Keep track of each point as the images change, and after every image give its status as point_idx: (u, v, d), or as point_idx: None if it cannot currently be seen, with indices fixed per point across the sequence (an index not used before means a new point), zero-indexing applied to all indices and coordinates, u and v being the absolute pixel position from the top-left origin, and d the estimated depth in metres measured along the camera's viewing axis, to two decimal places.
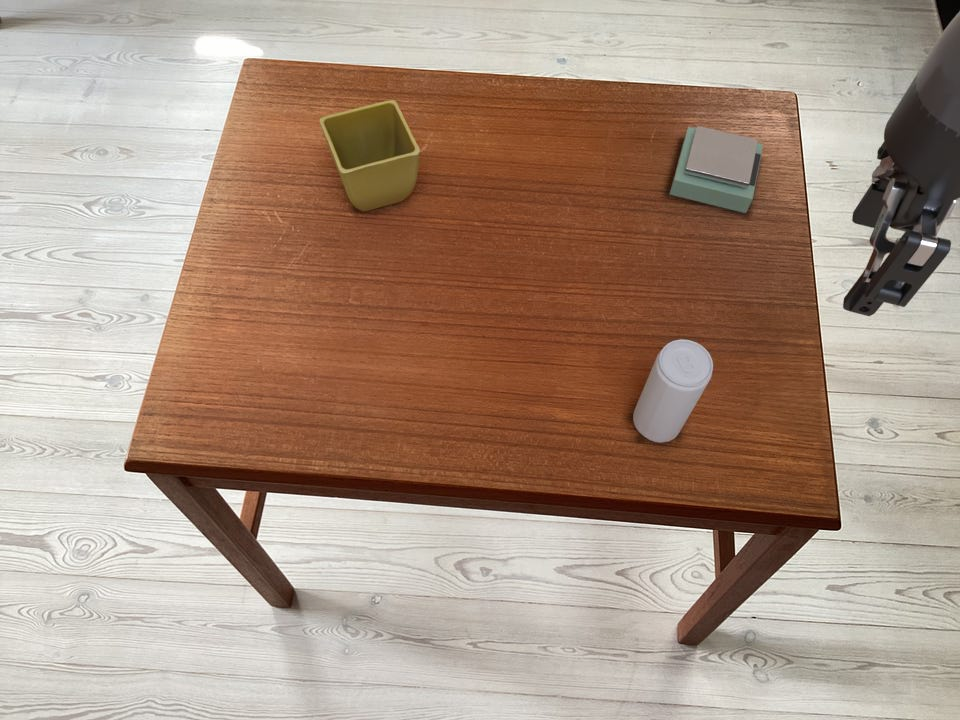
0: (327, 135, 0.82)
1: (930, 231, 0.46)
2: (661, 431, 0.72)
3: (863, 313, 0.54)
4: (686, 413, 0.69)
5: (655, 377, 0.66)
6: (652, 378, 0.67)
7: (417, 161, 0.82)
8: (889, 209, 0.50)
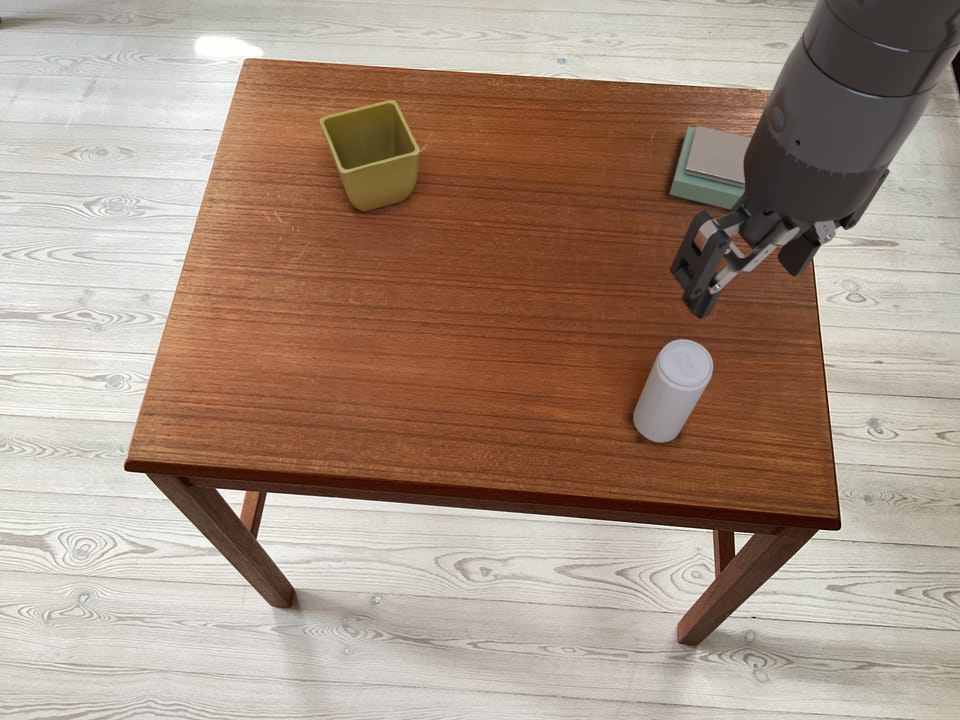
0: (327, 135, 0.82)
1: (724, 223, 0.47)
2: (661, 431, 0.72)
3: (688, 308, 0.55)
4: (686, 413, 0.69)
5: (655, 377, 0.66)
6: (652, 378, 0.67)
7: (417, 161, 0.82)
8: None
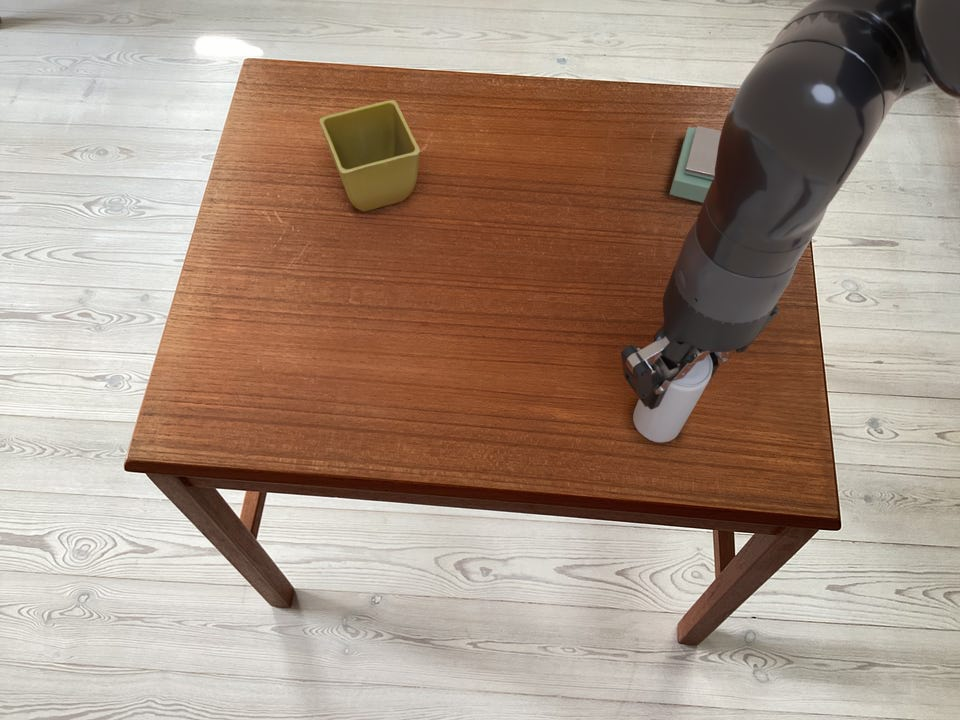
0: (327, 135, 0.82)
1: (644, 355, 0.59)
2: (661, 431, 0.72)
3: None
4: (686, 413, 0.69)
5: None
6: None
7: (417, 161, 0.82)
8: None
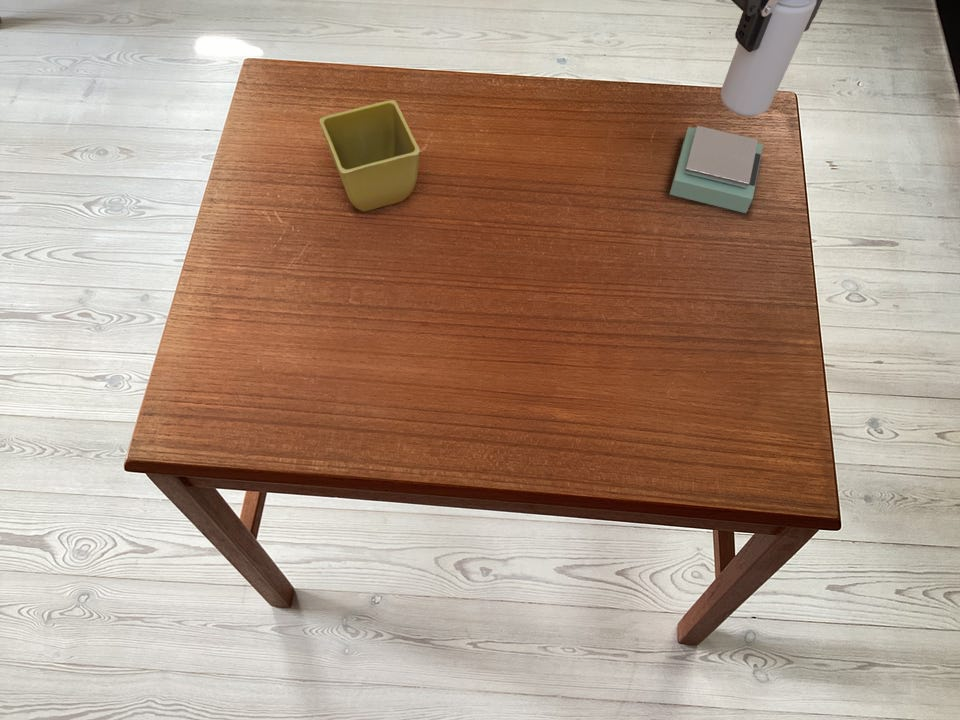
0: (327, 135, 0.82)
1: None
2: (755, 94, 0.69)
3: (741, 41, 0.65)
4: (784, 61, 0.66)
5: None
6: None
7: (417, 161, 0.82)
8: None
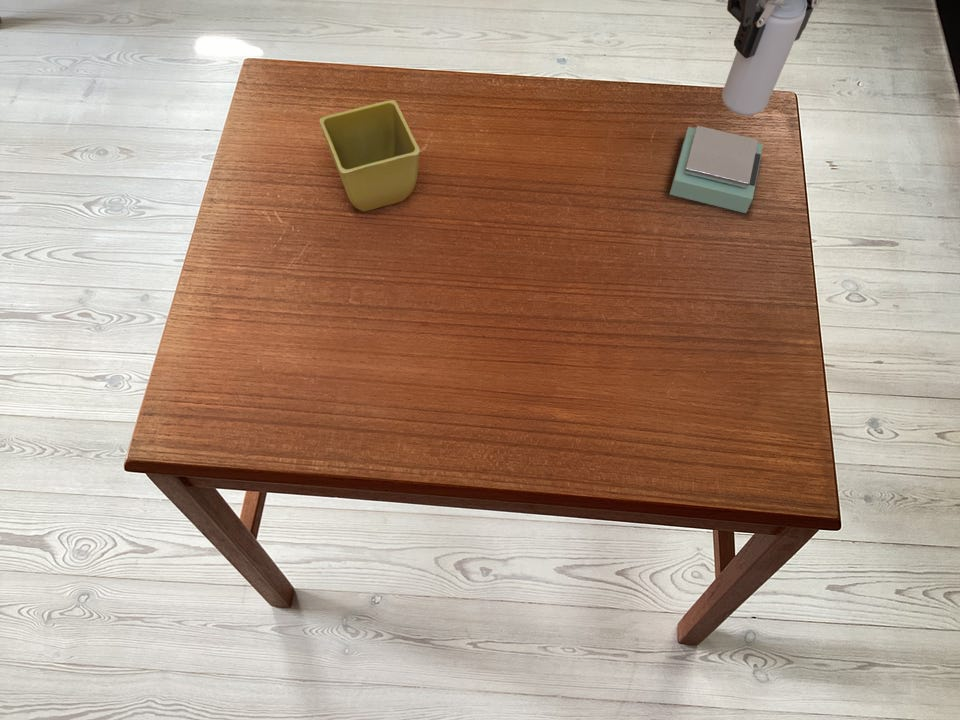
0: (327, 135, 0.82)
1: None
2: (752, 95, 0.78)
3: (739, 48, 0.74)
4: (778, 66, 0.75)
5: None
6: None
7: (417, 161, 0.82)
8: None
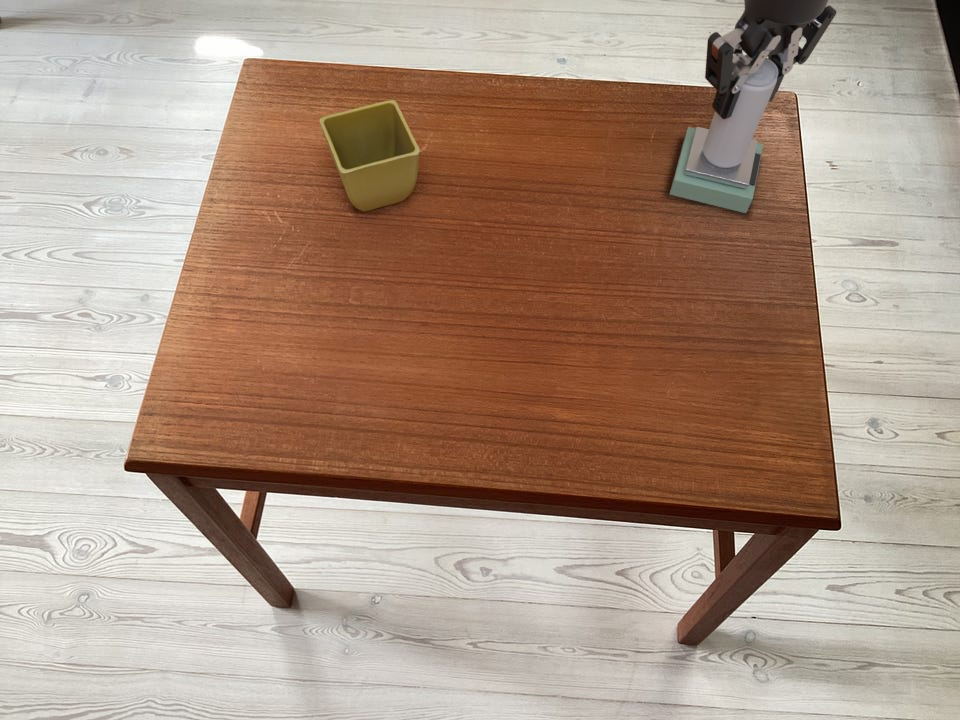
0: (327, 135, 0.82)
1: (728, 38, 0.72)
2: (729, 151, 0.85)
3: (717, 110, 0.80)
4: (752, 126, 0.82)
5: None
6: None
7: (417, 161, 0.82)
8: None
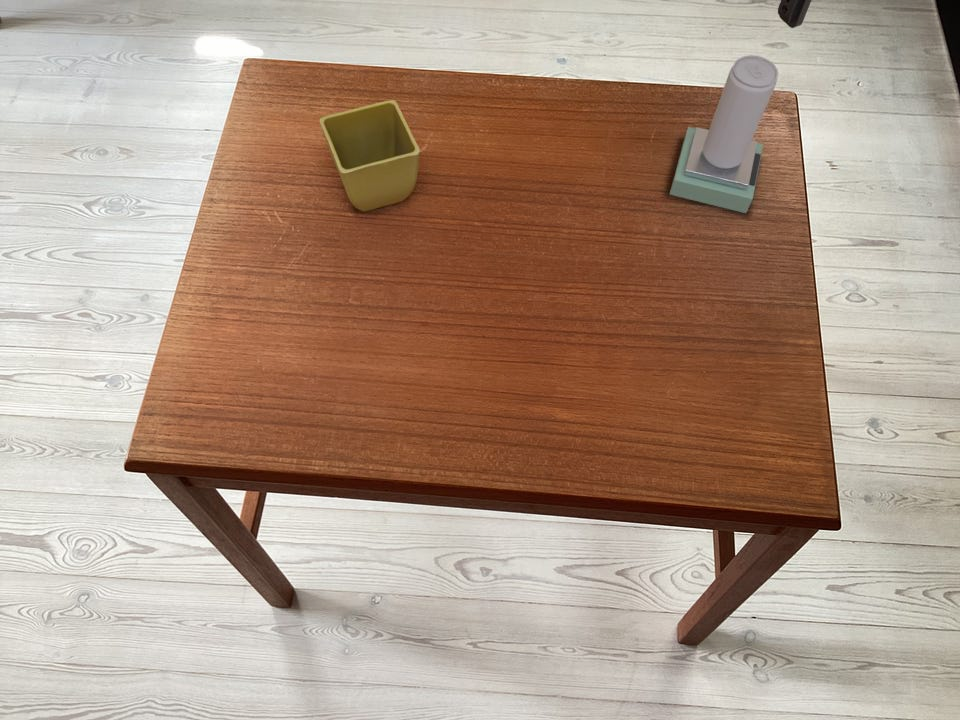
0: (327, 135, 0.82)
1: None
2: (729, 152, 0.85)
3: (784, 16, 0.64)
4: (752, 126, 0.82)
5: (729, 86, 0.79)
6: (725, 91, 0.80)
7: (417, 161, 0.82)
8: None
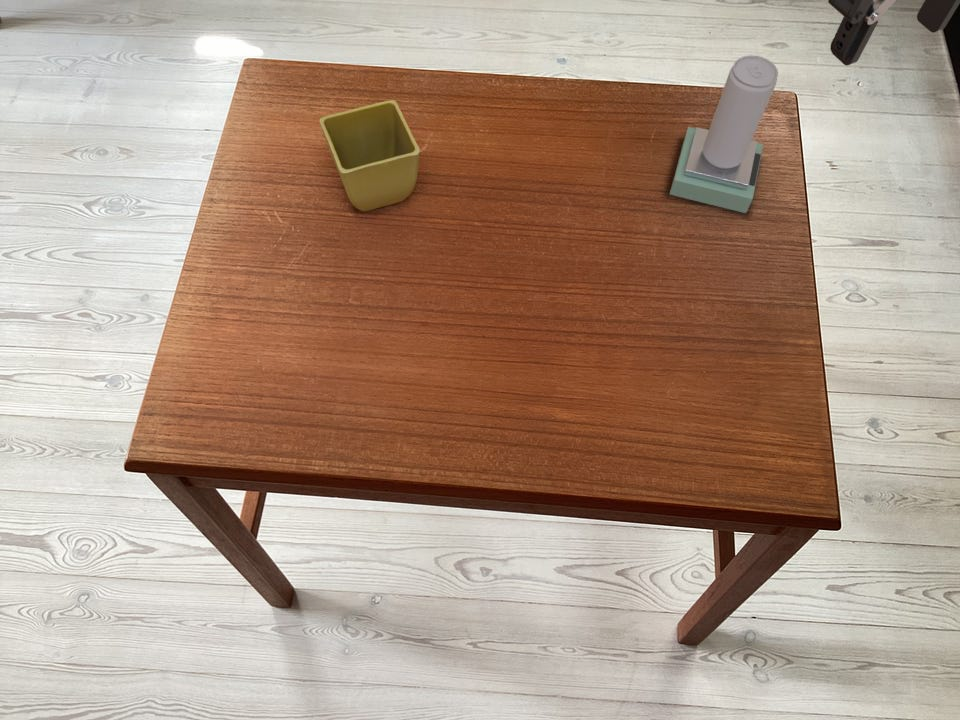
0: (327, 135, 0.82)
1: None
2: (729, 152, 0.85)
3: (838, 52, 0.56)
4: (752, 126, 0.82)
5: (729, 86, 0.79)
6: (725, 91, 0.80)
7: (417, 161, 0.82)
8: None
